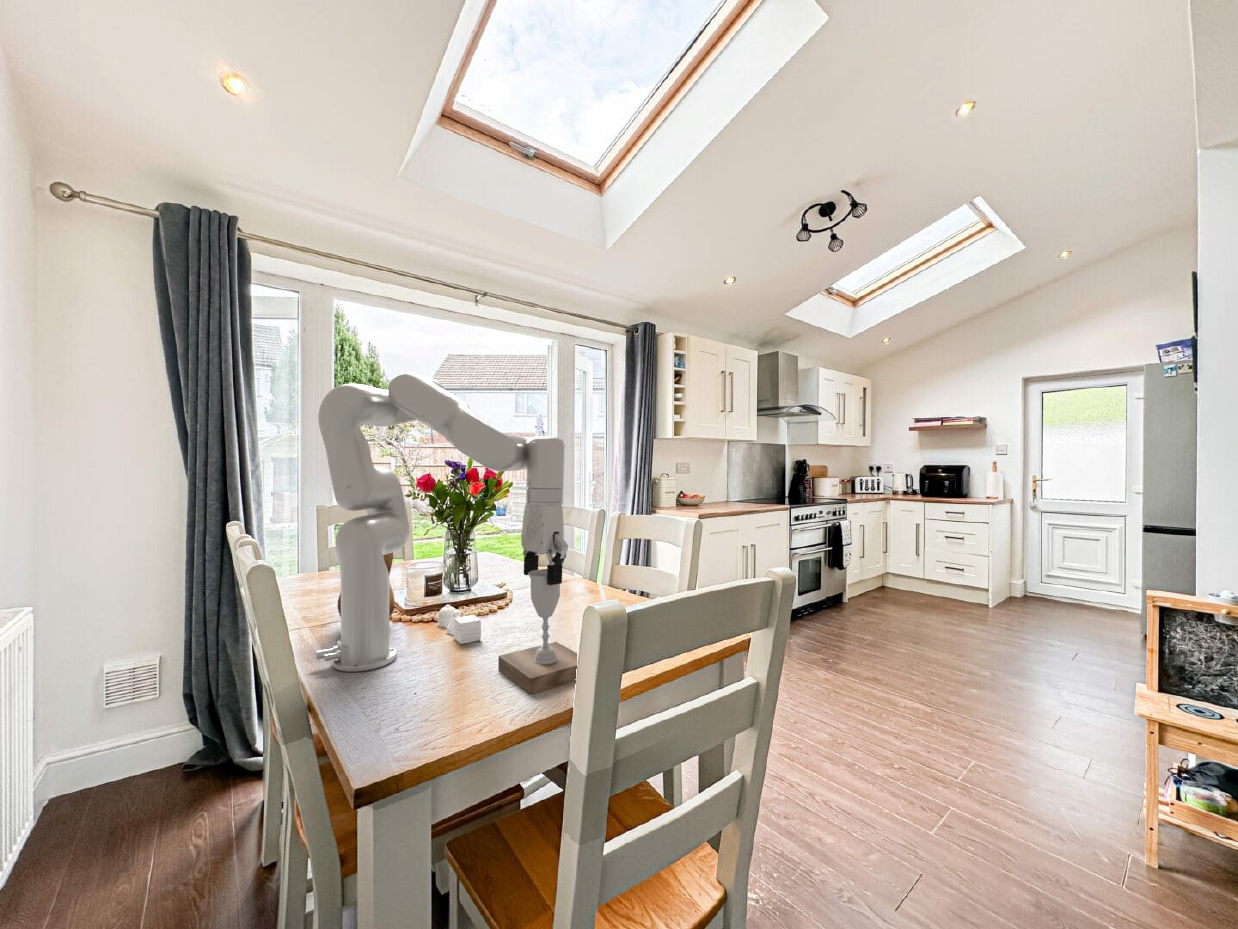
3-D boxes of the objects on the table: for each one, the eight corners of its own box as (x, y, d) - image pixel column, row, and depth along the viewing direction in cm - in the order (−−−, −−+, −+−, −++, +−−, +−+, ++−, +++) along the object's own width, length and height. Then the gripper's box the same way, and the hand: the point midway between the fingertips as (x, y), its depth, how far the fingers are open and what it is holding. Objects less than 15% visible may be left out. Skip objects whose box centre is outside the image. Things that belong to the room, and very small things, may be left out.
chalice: (546, 669, 102) (546, 577, 102) (521, 662, 106) (520, 573, 106) (569, 657, 109) (569, 571, 108) (544, 650, 112) (544, 567, 112)
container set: (481, 641, 127) (481, 619, 127) (460, 646, 124) (460, 623, 123) (454, 620, 143) (454, 600, 143) (434, 624, 140) (434, 603, 140)
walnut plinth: (530, 694, 98) (530, 678, 98) (498, 670, 109) (498, 655, 109) (591, 675, 107) (591, 661, 107) (556, 654, 118) (556, 641, 118)
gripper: (509, 493, 112) (506, 572, 112) (550, 500, 98) (547, 591, 99) (540, 493, 117) (537, 569, 117) (583, 499, 103) (580, 585, 103)
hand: (542, 579), depth 108 cm, fingers open, 9 cm apart
